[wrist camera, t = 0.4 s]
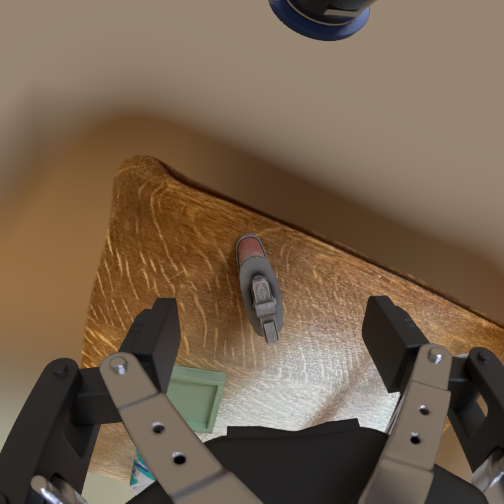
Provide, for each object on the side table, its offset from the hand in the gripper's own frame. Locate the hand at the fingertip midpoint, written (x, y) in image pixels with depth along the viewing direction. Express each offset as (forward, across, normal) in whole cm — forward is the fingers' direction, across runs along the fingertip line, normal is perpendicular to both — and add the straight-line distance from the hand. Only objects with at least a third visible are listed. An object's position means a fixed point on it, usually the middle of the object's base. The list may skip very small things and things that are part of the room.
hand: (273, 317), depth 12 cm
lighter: (+20, 0, +7) cm, 22 cm away
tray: (+18, +11, +26) cm, 34 cm away
